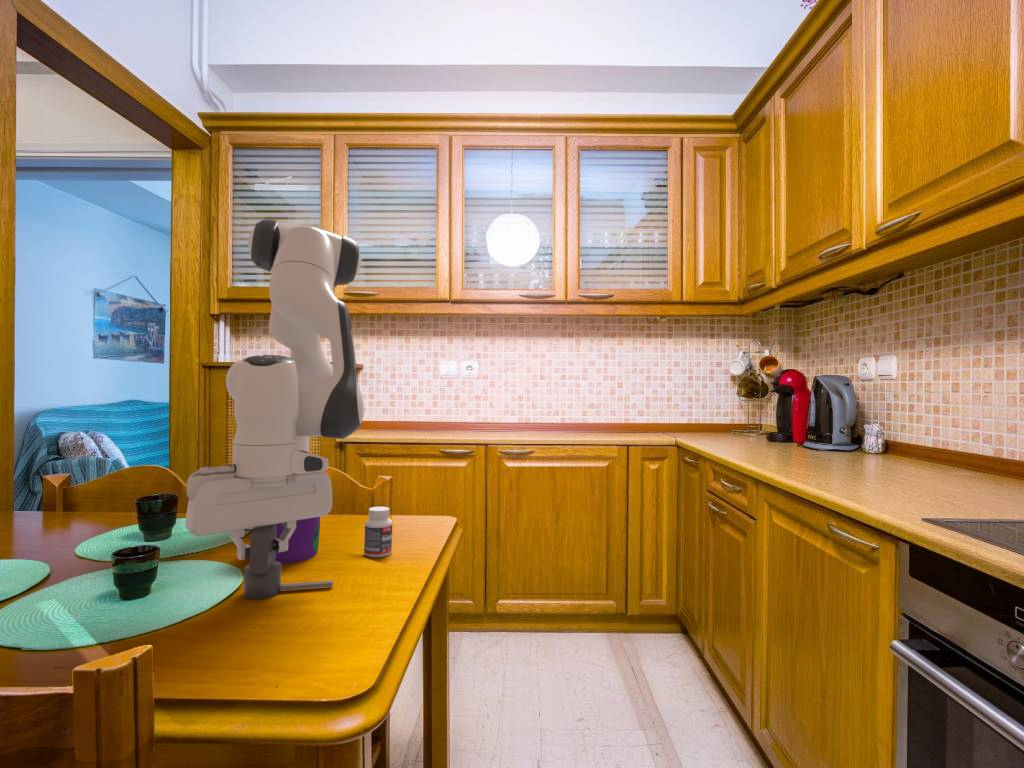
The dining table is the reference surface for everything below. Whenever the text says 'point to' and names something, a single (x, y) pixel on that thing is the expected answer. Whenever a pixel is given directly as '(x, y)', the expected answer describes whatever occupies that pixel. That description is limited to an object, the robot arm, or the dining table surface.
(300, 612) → the dining table surface
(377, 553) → the pill bottle
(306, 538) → the mug
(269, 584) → the grey block with rod
